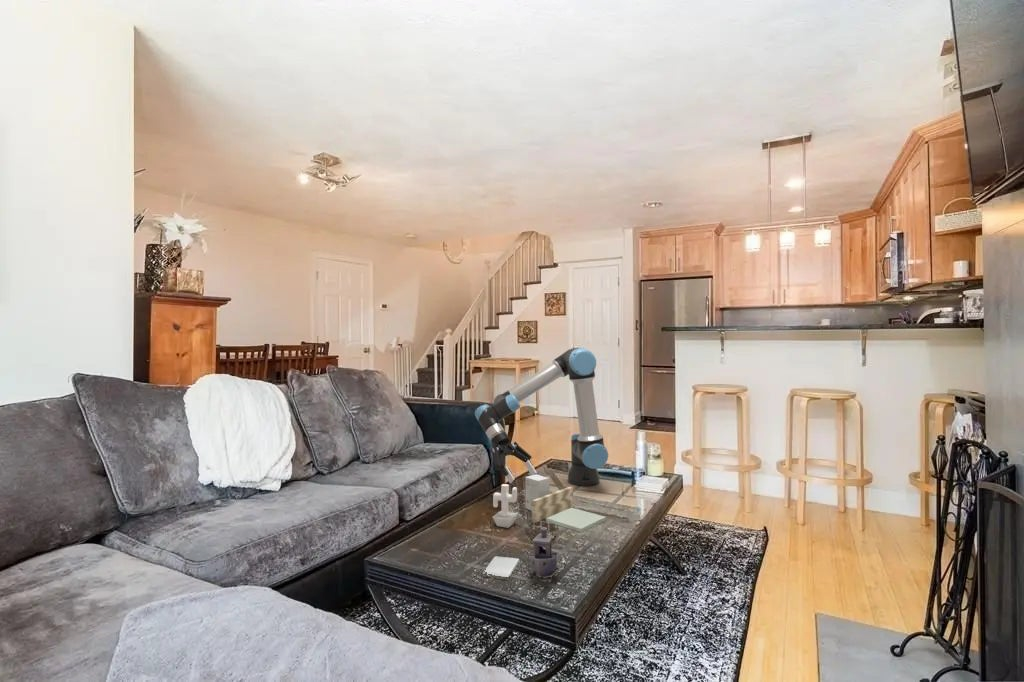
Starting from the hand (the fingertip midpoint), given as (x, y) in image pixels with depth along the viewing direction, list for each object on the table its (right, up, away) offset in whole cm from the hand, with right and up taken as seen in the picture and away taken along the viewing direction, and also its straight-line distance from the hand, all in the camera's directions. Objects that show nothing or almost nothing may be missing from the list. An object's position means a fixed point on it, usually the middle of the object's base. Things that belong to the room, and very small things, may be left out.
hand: (523, 478), depth 208 cm
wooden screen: (+11, -12, -9) cm, 19 cm away
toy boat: (+5, -12, -60) cm, 62 cm away
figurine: (-7, -12, -20) cm, 25 cm away
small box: (+6, -12, -4) cm, 14 cm away
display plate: (+19, -12, -17) cm, 28 cm away
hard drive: (-8, -13, -56) cm, 58 cm away
